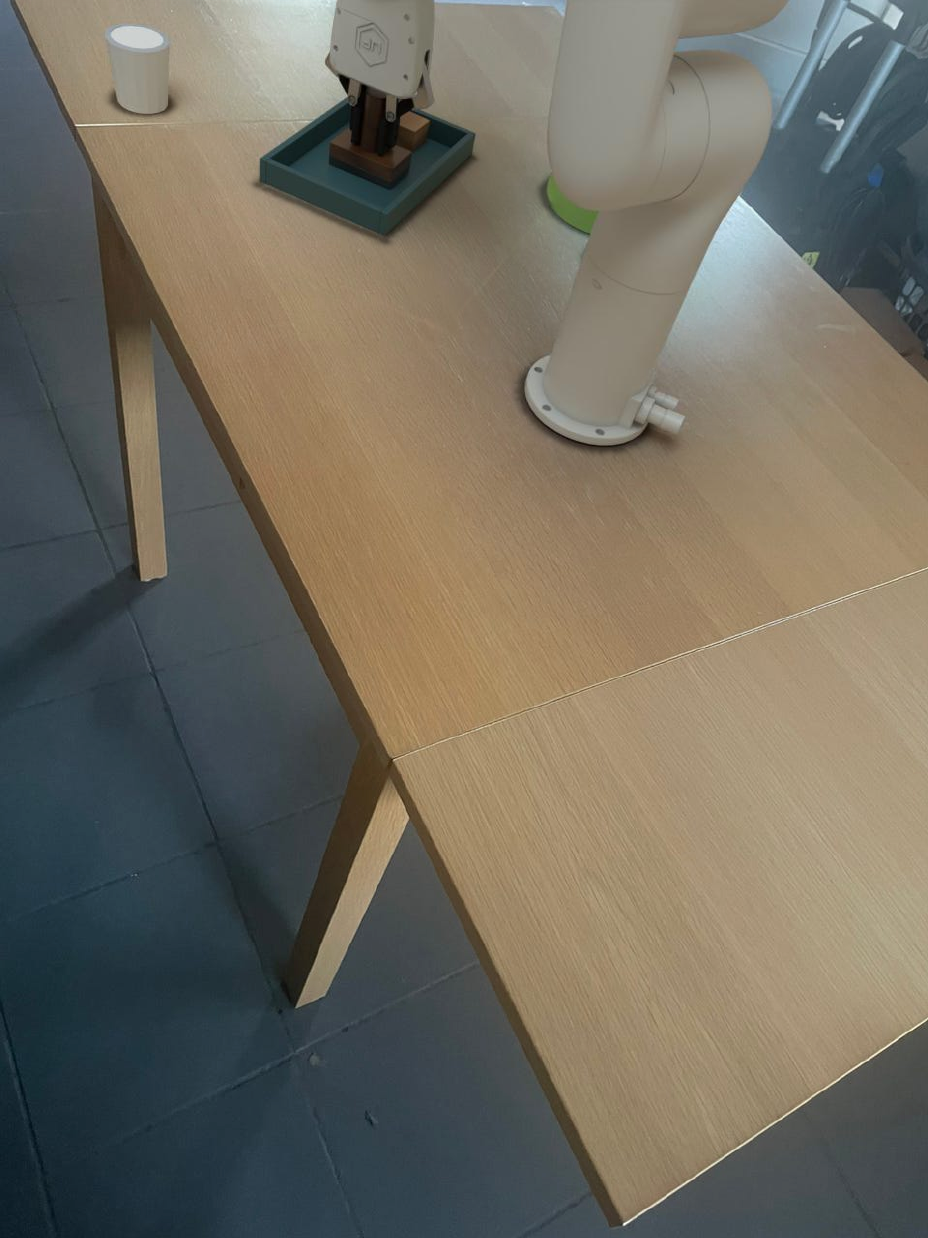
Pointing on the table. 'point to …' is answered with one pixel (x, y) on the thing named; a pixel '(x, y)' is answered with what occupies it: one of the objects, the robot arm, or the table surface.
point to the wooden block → (412, 131)
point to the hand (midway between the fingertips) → (372, 143)
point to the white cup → (139, 66)
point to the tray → (352, 197)
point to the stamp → (370, 148)
